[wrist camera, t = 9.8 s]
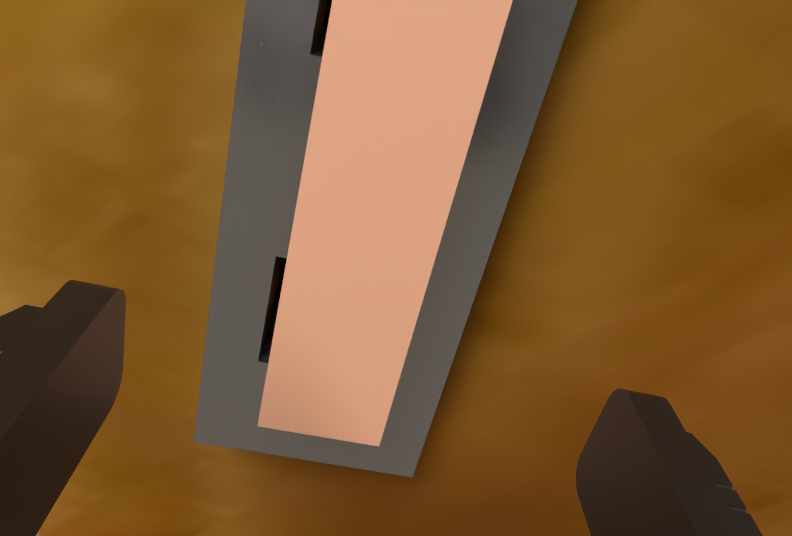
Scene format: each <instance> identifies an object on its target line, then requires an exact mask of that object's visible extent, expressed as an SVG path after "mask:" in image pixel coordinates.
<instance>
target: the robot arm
mask: <svg viewBox="0 0 792 536" xmlns="http://www.w3.org/2000/svg"><path fill="white" fill-rule="evenodd" d="M125 307H126V299H125V293H124V291H123V290H121V289H116V288H111V287H106V286H101V285H96V284H91V283H86V282H80V281H75V280H70V281H68V282H67V283H66V284H65V285H64V286H63V287H62V288H61V289H60V290H59V291H58V292H57V293H56V294H55V295H54V296H53V298H52V299H51V300H50V301H49V302H48V303H47V304H46V305H45V306H44V307H43V308H40V307H34V306H29V305H24V306H22V307H20V308H18V309H16V310H13V311H11V312H9V313H7V314H5V315H3V316H1V317H0V536H36V534H37V532H38V531H39V529H40V527H41V526H42V524H43V522H44V521H45V519H46V517H47V516H48V514H49V512H50V511H51V509H52V507H53V506H54V504H55V502H56V501H57V499H58V497H59V495H60V494H61V492H62V490H63V489H64V487H65V485H66V484H67V482H68V480H69V479H70V477H71V475H72V474H73V472H74V470H75V469H76V467H77V465H78V464H79V462H80V460H81V459H82V457H83V455H84V454H85V452H86V450H87V448H88V447H89V445H90V443H91V442H92V440H93V438H94V437H95V435H96V433H97V432H98V430H99V428H100V427H101V425H102V423H103V422H104V420H105V418H106V417H107V415H108V413H109V412H110V410H111V408H112V406H113V404H114V402H115V399H116V396H117V393H118V390H119V387H120V383H121V378H122V372H123V354H124V330H125ZM576 486H577V492H578V496H579V499H580V502H581V505H582V508H583V511H584V515H585V518H586V521H587V524H588V527H589V530H590V533H591V536H763V535H762V534H761V532H760V530H759V529H758V527H757V525H756V524H755V522H754V520H753V519H752V517H751V515H750V514H748V513H746V511H745V510H746V507H745V505H744V504H743V502H742V500H741V499H740V497H739V495H738V494H737V492H736V491H734V490H732V486H733V485H732V484H731V482H730V480H729V479H728V477H727V475H726V474H725V472H724V470H723V469H722V467H721V465H720V464H719V462H718V460H717V459H716V458H715V457H714V456H713V455H712V454H711V453H710V452H709V451H708V450H707V449H706V448H705V447H704V446H703V445H702V444H701V443H700V442H699V441H698V440H697V439H696V438H695V437H694V436H693V435H692V434H691V433H687V432H686V431H685V429H684V428H683V426H682V424H681V422H680V421H679V419H678V417H677V415H676V414H675V412H674V410H673V408H672V407H671V405H670V403H669V402H668V401H667V400H666V399H665V398H663V397H660V396H655V395H649V394H644V393H639V392H634V391H629V390H624V389H617V390H615V391H614V392H613V393H612V394H611V395H610V397H609V398H608V400H607V402H606V404H605V406H604V408H603V410H602V412H601V414H600V416H599V418H598V420H597V422H596V424H595V426H594V428H593V430H592V432H591V434H590V436H589V439H588V441H587V443H586V445H585V447H584V449H583V451H582V453H581V455H580V457H579V461H578V465H577V471H576Z"/></svg>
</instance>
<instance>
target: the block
mask: <svg viewBox="0 0 792 536" xmlns="http://www.w3.org/2000/svg"><path fill="white" fill-rule="evenodd" d="M512 1H513V0H332V5H331V10H330V16H329V22H328V27H327V33H326V39H325V44H324V50H323V56H322V61H321V67H320V73H319V79H318V84H317V90H316V96H315V101H314V107H313V113H312V118H311V124H310V130H309V135H308V141H307V147H306V152H305V158H304V164H303V169H302V175H301V181H300V187H299V192H298V198H297V204H296V209H295V215H294V221H293V226H292V232H291V238H290V243H289V249H288V255H287V260H286V266H285V272H284V277H283V283H282V289H281V295H280V300H279V306H278V312H277V317H276V323H275V329H274V334H273V340H272V346H271V351H270V357H269V363H268V368H267V374H266V380H265V385H264V391H263V397H262V402H261V408H260V414H259V420H258V425H257V426H259V427H265V428H271V429H277V430H283V431H289V432H295V433H301V434H307V435H313V436H319V437H325V438H331V439H337V440H343V441H349V442H355V443H361V444H367V445H373V446H379V445H380V442H381V438H382V435H383V432H384V428H385V425H386V422H387V418H388V415H389V412H390V408H391V405H392V402H393V398H394V395H395V392H396V388H397V385H398V382H399V378H400V375H401V372H402V368H403V365H404V362H405V358H406V355H407V352H408V348H409V345H410V342H411V338H412V335H413V332H414V328H415V325H416V322H417V318H418V315H419V312H420V308H421V305H422V302H423V298H424V295H425V292H426V288H427V285H428V281H429V278H430V275H431V271H432V268H433V265H434V261H435V258H436V255H437V251H438V248H439V245H440V241H441V238H442V235H443V231H444V228H445V225H446V221H447V218H448V215H449V211H450V208H451V205H452V201H453V198H454V195H455V191H456V188H457V185H458V181H459V178H460V175H461V171H462V168H463V165H464V161H465V158H466V155H467V151H468V148H469V145H470V141H471V138H472V135H473V131H474V128H475V125H476V121H477V118H478V115H479V111H480V108H481V105H482V101H483V98H484V95H485V91H486V88H487V85H488V81H489V78H490V75H491V71H492V68H493V65H494V61H495V58H496V54H497V51H498V48H499V44H500V41H501V38H502V34H503V31H504V28H505V24H506V21H507V18H508V14H509V11H510V8H511V4H512Z"/></svg>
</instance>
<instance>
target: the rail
mask: <svg viewBox="0 0 792 536" xmlns="http://www.w3.org/2000/svg"><path fill="white" fill-rule="evenodd" d="M577 1H578V0H513V1H512V4H511V8H510V11H509V14H508V18H507V21H506V24H505V28H504V31H503V34H502V38H501V41H500V44H499V48H498V51H497V54H496V58H495V61H494V65H493V68H492V71H491V75H490V78H489V81H488V85H487V88H486V91H485V95H484V98H483V101H482V105H481V108H480V111H479V115H478V118H477V121H476V125H475V128H474V131H473V135H472V138H471V141H470V145H469V148H468V151H467V155H466V158H465V161H464V165H463V168H462V171H461V175H460V178H459V181H458V185H457V188H456V191H455V195H454V198H453V201H452V205H451V208H450V211H449V215H448V218H447V221H446V225H445V228H444V231H443V235H442V238H441V241H440V245H439V248H438V251H437V255H436V258H435V261H434V265H433V268H432V271H431V275H430V278H429V281H428V285H427V288H426V292H425V295H424V298H423V302H422V305H421V308H420V312H419V315H418V318H417V322H416V325H415V328H414V332H413V335H412V338H411V342H410V345H409V348H408V352H407V355H406V358H405V362H404V365H403V368H402V372H401V375H400V378H399V382H398V385H397V388H396V392H395V395H394V398H393V402H392V405H391V408H390V412H389V415H388V418H387V422H386V425H385V428H384V432H383V435H382V438H381V442H380V445H379V446H373V445H367V444H361V443H355V442H349V441H343V440H337V439H331V438H325V437H319V436H313V435H307V434H301V433H295V432H289V431H283V430H277V429H271V428H265V427H259V426H257V425H258V420H259V414H260V408H261V402H262V397H263V391H264V385H265V380H266V374H267V368H268V363H269V357H270V351H271V346H272V340H273V334H274V329H275V323H276V317H277V312H278V306H275V299H276V294H277V288H278V282H279V276H280V271H281V265H282V259H283V258H287V255H288V249H289V243H290V238H291V232H292V226H293V221H294V215H295V209H296V204H297V198H298V192H299V187H300V181H301V175H302V169H303V164H304V158H305V152H306V147H307V141H308V135H309V130H310V124H311V118H312V113H313V107H314V101H315V96H316V90H317V84H318V79H319V73H320V67H321V61H322V56H323V50H324V44H325V39H326V34H322V31H323V25H324V19H325V14H326V8H327V2H328V0H246V6H245V15H244V23H243V32H242V40H241V48H240V57H239V65H238V74H237V82H236V90H235V99H234V107H233V116H232V124H231V132H230V141H229V149H228V158H227V166H226V174H225V183H224V191H223V199H222V208H221V216H220V225H219V233H218V241H217V250H216V258H215V267H214V275H213V283H212V292H211V300H210V309H209V317H208V325H207V334H206V342H205V351H204V359H203V367H202V376H201V384H200V393H199V401H198V409H197V418H196V426H195V434H194V442H199V443H205V444H211V445H217V446H223V447H229V448H235V449H241V450H247V451H254V452H260V453H266V454H272V455H278V456H284V457H290V458H296V459H302V460H308V461H315V462H321V463H327V464H333V465H339V466H345V467H351V468H357V469H363V470H369V471H376V472H382V473H388V474H394V475H400V476H406V477H412V478H413V475H414V472H415V469H416V466H417V463H418V460H419V457H420V454H421V452H422V449H423V446H424V443H425V440H426V437H427V434H428V431H429V428H430V426H431V423H432V420H433V417H434V414H435V411H436V408H437V405H438V402H439V400H440V397H441V394H442V391H443V388H444V385H445V382H446V379H447V376H448V374H449V371H450V368H451V365H452V362H453V359H454V356H455V353H456V350H457V348H458V345H459V342H460V339H461V336H462V333H463V330H464V327H465V324H466V322H467V319H468V316H469V313H470V310H471V307H472V304H473V301H474V298H475V296H476V293H477V290H478V287H479V284H480V281H481V278H482V275H483V272H484V270H485V267H486V264H487V261H488V258H489V255H490V252H491V249H492V246H493V244H494V241H495V238H496V235H497V232H498V229H499V226H500V223H501V220H502V218H503V215H504V212H505V209H506V206H507V203H508V200H509V197H510V194H511V192H512V189H513V186H514V183H515V180H516V177H517V174H518V171H519V168H520V166H521V163H522V160H523V157H524V154H525V151H526V148H527V145H528V142H529V140H530V137H531V134H532V131H533V128H534V125H535V122H536V119H537V116H538V114H539V111H540V108H541V105H542V102H543V99H544V96H545V93H546V90H547V88H548V85H549V82H550V79H551V76H552V73H553V70H554V67H555V64H556V62H557V59H558V56H559V53H560V50H561V47H562V44H563V41H564V38H565V36H566V33H567V30H568V27H569V24H570V21H571V18H572V15H573V12H574V10H575V7H576V4H577Z"/></svg>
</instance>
